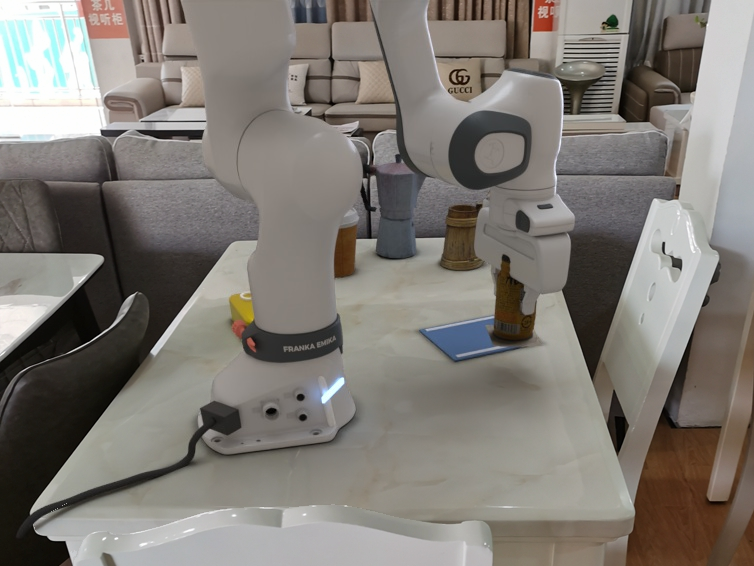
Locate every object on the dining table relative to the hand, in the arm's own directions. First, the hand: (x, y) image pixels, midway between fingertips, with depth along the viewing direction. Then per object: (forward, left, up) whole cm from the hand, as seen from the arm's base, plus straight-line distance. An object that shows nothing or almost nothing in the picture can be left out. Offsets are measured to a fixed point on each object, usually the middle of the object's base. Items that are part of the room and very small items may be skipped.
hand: (513, 304), depth 114 cm
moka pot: (+8, +64, -11) cm, 65 cm away
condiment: (0, -1, -5) cm, 5 cm away
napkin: (+3, +15, -11) cm, 19 cm away
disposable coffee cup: (-7, +58, -11) cm, 59 cm away
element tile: (-26, +36, -11) cm, 46 cm away
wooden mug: (+20, +50, -11) cm, 55 cm away
